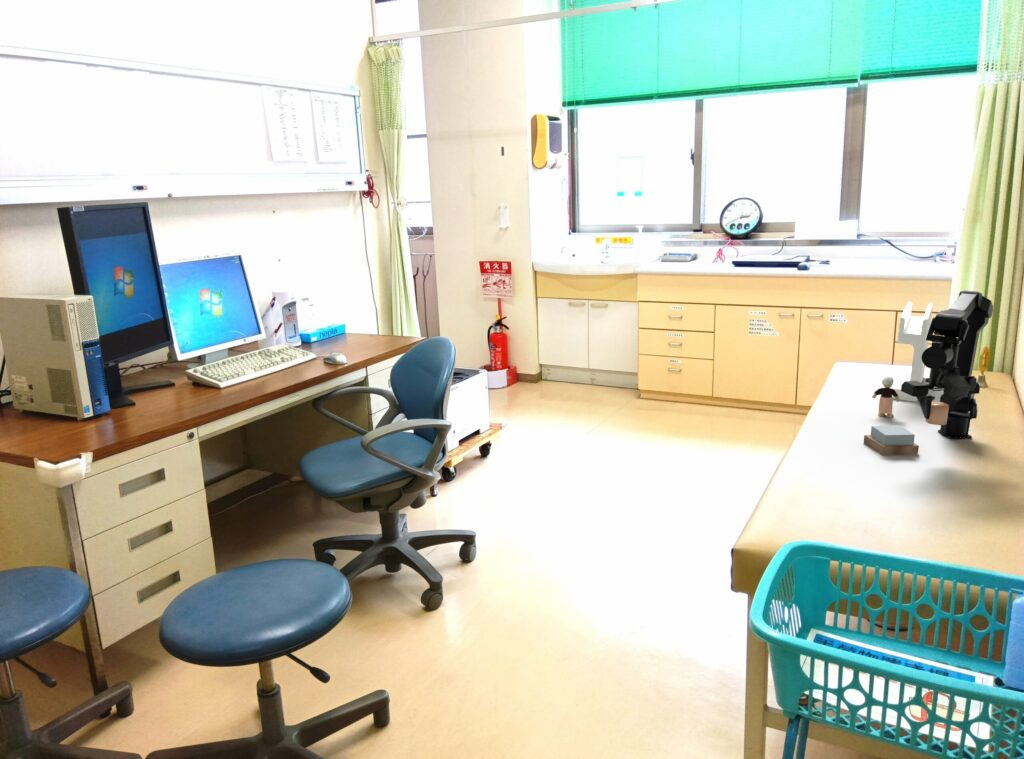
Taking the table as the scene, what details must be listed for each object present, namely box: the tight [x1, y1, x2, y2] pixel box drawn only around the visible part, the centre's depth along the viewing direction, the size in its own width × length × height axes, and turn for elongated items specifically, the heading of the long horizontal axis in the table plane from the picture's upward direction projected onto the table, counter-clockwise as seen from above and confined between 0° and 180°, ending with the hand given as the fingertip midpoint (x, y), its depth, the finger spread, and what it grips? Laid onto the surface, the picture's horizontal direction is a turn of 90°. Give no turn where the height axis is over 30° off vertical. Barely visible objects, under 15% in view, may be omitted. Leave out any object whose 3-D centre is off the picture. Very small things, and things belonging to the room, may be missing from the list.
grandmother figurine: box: [871, 376, 900, 418], centre depth 237 cm, size 8×4×13 cm, turn 71°
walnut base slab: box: [863, 434, 920, 457], centre depth 211 cm, size 10×10×3 cm
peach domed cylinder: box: [924, 401, 949, 426], centre depth 201 cm, size 5×5×5 cm
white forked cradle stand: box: [891, 301, 934, 403], centre depth 265 cm, size 35×8×28 cm, turn 149°
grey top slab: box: [870, 424, 915, 446], centre depth 210 cm, size 8×8×3 cm
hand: (936, 418), depth 202 cm, fingers closed on peach domed cylinder, 5 cm apart
